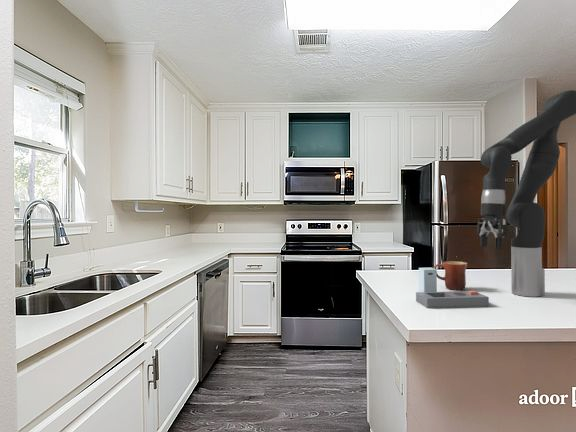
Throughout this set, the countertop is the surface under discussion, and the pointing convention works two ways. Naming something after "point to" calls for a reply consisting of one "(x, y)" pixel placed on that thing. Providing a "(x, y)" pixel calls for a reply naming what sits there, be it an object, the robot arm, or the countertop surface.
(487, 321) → the countertop surface
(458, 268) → the mug
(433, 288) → the block
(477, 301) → the power strip
